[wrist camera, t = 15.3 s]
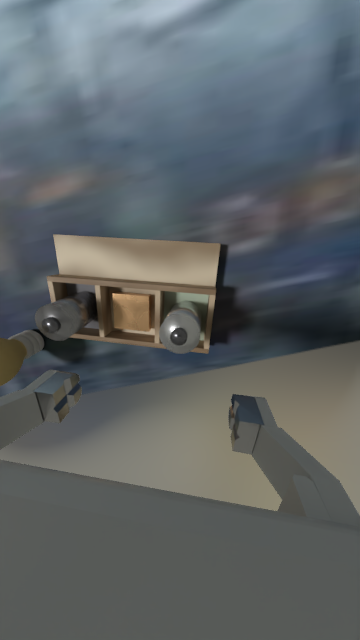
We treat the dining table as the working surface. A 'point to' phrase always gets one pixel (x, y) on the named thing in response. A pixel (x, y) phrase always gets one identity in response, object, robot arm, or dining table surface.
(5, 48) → the dining table surface
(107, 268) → the wooden compartment tray
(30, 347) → the light bulb
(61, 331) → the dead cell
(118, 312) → the brown square tile
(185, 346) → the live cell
